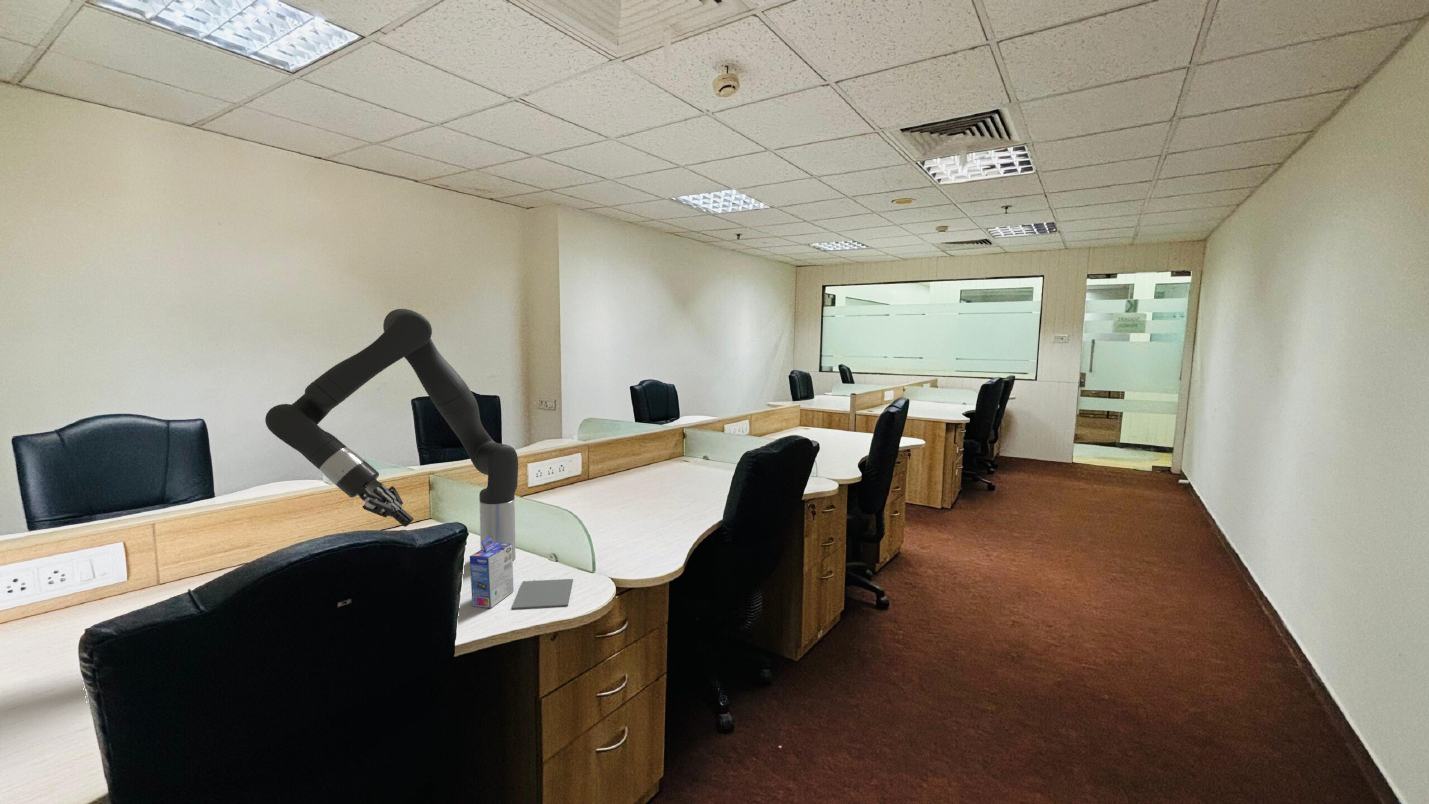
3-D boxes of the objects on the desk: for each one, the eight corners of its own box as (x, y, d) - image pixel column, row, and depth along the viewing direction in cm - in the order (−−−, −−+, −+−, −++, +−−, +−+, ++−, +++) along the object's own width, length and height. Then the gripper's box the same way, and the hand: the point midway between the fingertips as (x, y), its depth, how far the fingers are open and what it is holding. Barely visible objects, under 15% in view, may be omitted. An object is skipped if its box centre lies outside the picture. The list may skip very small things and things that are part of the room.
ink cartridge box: (494, 589, 139) (493, 532, 138) (514, 591, 138) (513, 534, 137) (469, 606, 130) (468, 545, 129) (491, 609, 129) (490, 547, 127)
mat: (522, 582, 143) (522, 581, 143) (573, 580, 145) (573, 578, 145) (511, 609, 129) (511, 607, 129) (567, 606, 131) (567, 604, 131)
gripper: (348, 466, 120) (411, 520, 123) (374, 454, 133) (431, 503, 136) (321, 491, 120) (386, 544, 123) (351, 477, 133) (408, 526, 136)
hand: (409, 523), depth 129 cm, fingers closed
